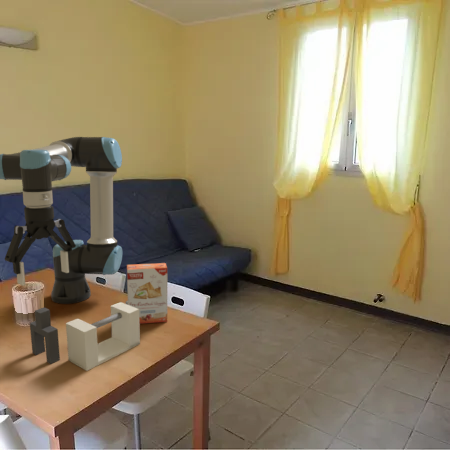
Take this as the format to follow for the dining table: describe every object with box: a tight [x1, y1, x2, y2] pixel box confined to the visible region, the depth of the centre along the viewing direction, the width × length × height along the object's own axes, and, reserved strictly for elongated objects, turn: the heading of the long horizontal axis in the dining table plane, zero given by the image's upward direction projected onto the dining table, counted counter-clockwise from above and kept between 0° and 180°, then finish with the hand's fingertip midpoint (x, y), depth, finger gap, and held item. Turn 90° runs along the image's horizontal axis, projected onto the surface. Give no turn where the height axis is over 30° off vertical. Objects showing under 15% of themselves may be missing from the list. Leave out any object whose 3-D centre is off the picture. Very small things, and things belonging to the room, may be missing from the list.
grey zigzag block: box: [29, 307, 61, 365], centre depth 124 cm, size 10×3×15 cm, turn 53°
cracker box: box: [126, 262, 168, 325], centre depth 148 cm, size 14×6×21 cm, turn 103°
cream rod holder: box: [65, 301, 141, 372], centre depth 127 cm, size 9×20×12 cm, turn 143°
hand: (44, 277), depth 120 cm, fingers open, 13 cm apart
